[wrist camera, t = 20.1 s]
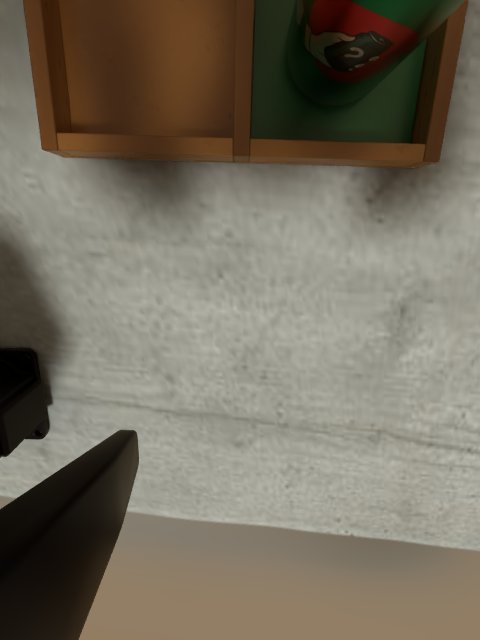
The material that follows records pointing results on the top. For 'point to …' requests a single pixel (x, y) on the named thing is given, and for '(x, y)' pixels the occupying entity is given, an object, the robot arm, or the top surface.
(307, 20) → the soda can
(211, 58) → the wooden divided tray
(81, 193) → the top surface
